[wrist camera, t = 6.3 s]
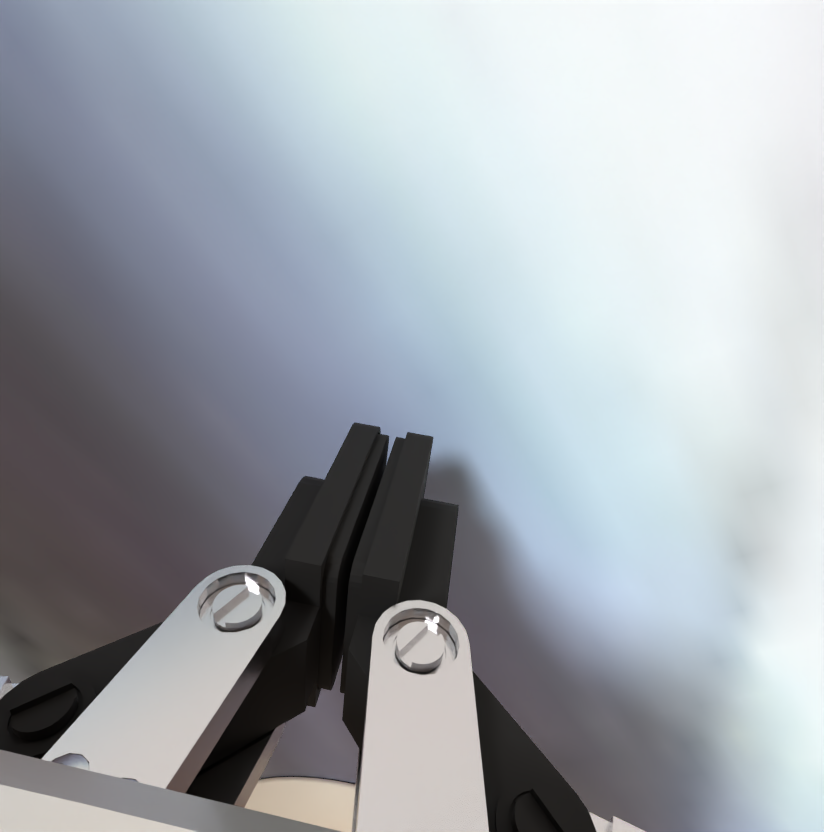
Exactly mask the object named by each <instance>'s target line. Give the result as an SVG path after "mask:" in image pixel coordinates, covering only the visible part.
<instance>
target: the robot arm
mask: <svg viewBox="0 0 824 832" xmlns="http://www.w3.org/2000/svg"><path fill="white" fill-rule="evenodd" d="M388 443H389V436H388V435H382V434H380V427H376V426H371V425H365V424H360V423H354V424H353V425H352V427H351V429H350V431H349V433H348V435H347V437H346V439H345V441H344V443H343V445H342V447H341V449H340V451H339V453H338V455H337V457H336V458H335V460H334V462H333V464H332V466H331V468H330V470H329V472H328V474H327V476H326V478H325V480H323V479H318V478H313V477H308V476H305V477H303V478H302V479H301V481H300V482H299V484H298V485H297V487H296V489H295V491H294V492H293V494H292V496H291V497H290V499H289V501H288V503H287V504H286V506H285V508H284V510H283V511H282V513H281V515H280V517H279V518H278V520H277V522H276V524H275V525H274V527H273V529H272V531H271V532H270V534H269V536H268V538H267V539H266V541H265V543H264V544H263V546H262V548H261V550H260V551H259V553H258V555H257V557H256V558H255V560H254V562H253V564H252V565H238V566H232V567H228V568H224V569H220V570H218V571H216V572H214V573H213V574H211V575H209V576H207V577H206V578H205V579H203V580H202V581H201V582H200V583H199V584H198V585H196V586H195V588H194V589H193V590H192V591H191V592H190V593H189V594H188V595H187V597H186V598H185V599H184V600H183V601H182V602H181V603H180V604H179V605H178V607H177V608H176V609H175V610H174V611H173V612H172V613H171V614H170V616H169V617H168V618H167V619H166V620H165V621H164V622H162V623H160V624H157V625H155V626H152V627H150V628H147V629H145V630H142V631H140V632H137V633H135V634H132V635H130V636H128V637H125V638H123V639H120V640H118V641H115V642H113V643H110V644H108V645H105V646H103V647H100V648H98V649H96V650H93V651H91V652H88V653H86V654H83V655H81V656H78V657H76V658H73V659H71V660H68V661H66V662H64V663H61V664H59V665H56V666H54V667H51V668H49V669H46V670H44V671H41V672H39V673H37V674H35V675H34V676H32V677H30V678H28V679H26V680H24V681H22V682H21V683H11V681H10V679H9V676H0V832H341V831H337V830H333V829H329V828H325V827H321V826H317V825H313V824H309V823H304V822H300V821H296V820H292V819H288V818H284V817H280V816H276V815H271V814H267V813H263V812H259V811H255V810H251V809H247V808H244V807H245V805H246V803H247V802H248V800H249V798H250V796H251V794H252V792H253V790H254V788H255V786H256V784H257V783H258V781H259V779H260V777H261V775H262V773H263V771H264V769H265V767H266V765H267V763H268V762H269V760H270V758H271V756H272V754H273V752H274V750H275V748H276V746H277V744H278V743H279V741H280V739H281V737H282V734H283V731H284V728H285V725H286V722H287V721H289V720H290V719H292V718H294V717H295V716H297V715H299V714H301V713H302V712H304V711H305V709H306V706H307V705H308V706H312V707H315V706H316V703H317V700H318V697H319V694H320V691H321V688H323V689H328V690H331V689H332V687H333V685H334V682H335V679H336V675H337V672H338V669H339V665H340V662H341V659H342V656H343V661H342V673H341V686H340V692H341V693H345V695H344V706H343V718H342V720H343V722H344V723H345V725H346V727H347V728H348V730H349V732H350V733H351V735H352V737H353V738H354V740H355V742H356V744H357V745H358V747H359V751H358V762H357V773H356V784H355V796H354V807H353V818H352V830H351V832H646V831H644V830H642V829H639V828H637V827H635V826H633V825H631V824H629V823H627V822H625V821H623V820H621V819H619V818H617V817H615V816H613V817H612V819H611V820H610V822H609V821H607V820H605V819H603V818H601V817H599V816H596V815H594V814H592V813H590V812H588V810H587V809H586V807H585V806H584V804H583V803H582V801H581V800H580V798H579V797H578V795H577V794H576V793H575V791H574V790H573V789H572V788H571V787H570V785H569V784H568V783H567V782H566V781H565V780H564V778H563V777H562V776H561V775H560V774H559V772H558V771H557V770H556V769H555V768H554V767H553V765H552V764H551V763H550V762H549V761H548V759H547V758H546V757H545V756H544V755H543V754H542V752H541V751H540V750H539V749H538V748H537V746H536V745H535V744H534V743H533V742H532V741H531V739H530V738H529V737H528V736H527V735H526V733H525V732H524V731H523V730H522V729H521V728H520V726H519V725H518V724H517V723H516V722H515V720H514V719H513V718H512V717H511V716H510V714H509V713H508V712H507V711H506V710H505V709H504V707H503V706H502V705H501V704H500V703H499V701H498V700H497V699H496V698H495V697H494V696H493V694H492V693H491V692H490V691H489V690H488V688H487V687H486V686H485V685H484V684H483V683H482V681H481V680H480V679H479V678H478V677H477V675H476V674H475V673H474V672H473V671H472V663H471V654H470V644H469V640H468V636H467V633H466V630H465V628H464V627H463V625H462V624H461V622H460V621H459V619H458V618H457V617H456V616H455V615H453V614H452V613H451V612H450V611H449V610H448V609H446V608H447V600H448V592H449V583H450V575H451V566H452V558H453V550H454V541H455V533H456V525H457V516H458V505H454V504H449V503H444V502H439V501H433V500H428V499H423V498H424V492H425V486H426V480H427V474H428V467H429V461H430V455H431V449H432V443H433V437H431V436H426V435H420V434H415V433H409V432H408V433H407V435H406V438H405V439H404V438H399V437H396V439H395V442H394V445H393V448H392V451H391V453H390V456H389V459H388V462H387V465H386V461H387V452H388Z"/></svg>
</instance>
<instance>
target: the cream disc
mask: <svg viewBox="0 0 824 832" xmlns="http://www.w3.org/2000/svg"><path fill="white" fill-rule="evenodd" d="M354 796H355V784H351V783H346V782H341V781H335V780H328V779H320V778H308V777H275V778H267V779H259V781H258V783H257V784H256V786H255V788H254V790H253V792H252V794H251V796H250V798H249V800H248V802H247V803H246V805H245V807H244V808H247V809H251V810H255V811H259V812H263V813H267V814H271V815H276V816H280V817H284V818H288V819H292V820H296V821H300V822H304V823H309V824H313V825H317V826H321V827H325V828H329V829H333V830H337V831H341V832H351V830H352V818H353V807H354Z"/></svg>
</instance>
